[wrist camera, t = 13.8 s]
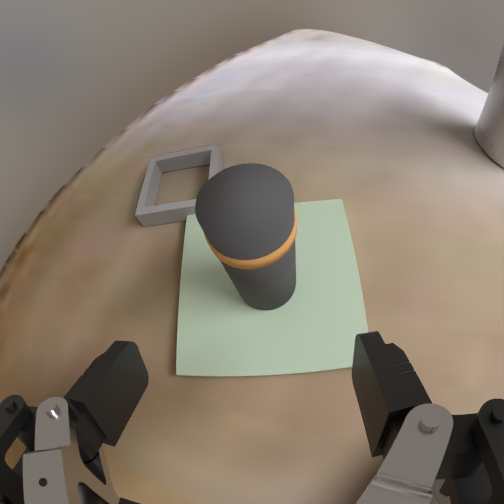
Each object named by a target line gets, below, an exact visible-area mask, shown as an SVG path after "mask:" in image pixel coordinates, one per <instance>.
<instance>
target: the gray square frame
mask: <svg viewBox="0 0 504 504" xmlns="http://www.w3.org/2000/svg"><path fill="white" fill-rule="evenodd" d="M223 159H224V157H223V154H222V151H221V147H220V144H215V145H210V146H204V147H199V148H193V149H188V150H183V151H179V152H174V153H169V154H165V155H160V156H156V157H152V158H150V162H149V165H148V168H147V172H146V175H145V179H144V182H143V186H142V189H141V193H140V197H139V201H138V205H137V209H136V213H135V216H136V218H137V219H138V220H139V221H140V222H141V224H142V225H143V226H144V227H146V226H152V225H159V224H166V223H173V222H180V221H186V220H187V215H193V214H196V213H195V204H196V199H191V200H185V201H179V202H173V203H167V204H161V205H155V203H156V198H157V194H158V189H159V185H160V180H161V176H162V173H165V172H170V171H175V170H180V169H185V168H191V167H197V166H202V165H208V164H210V168H209V178H208V180H209V179H210V178H211V177H213V176H214V175H215V174H217V173H219V172H220V171H222V170H223Z"/></svg>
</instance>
